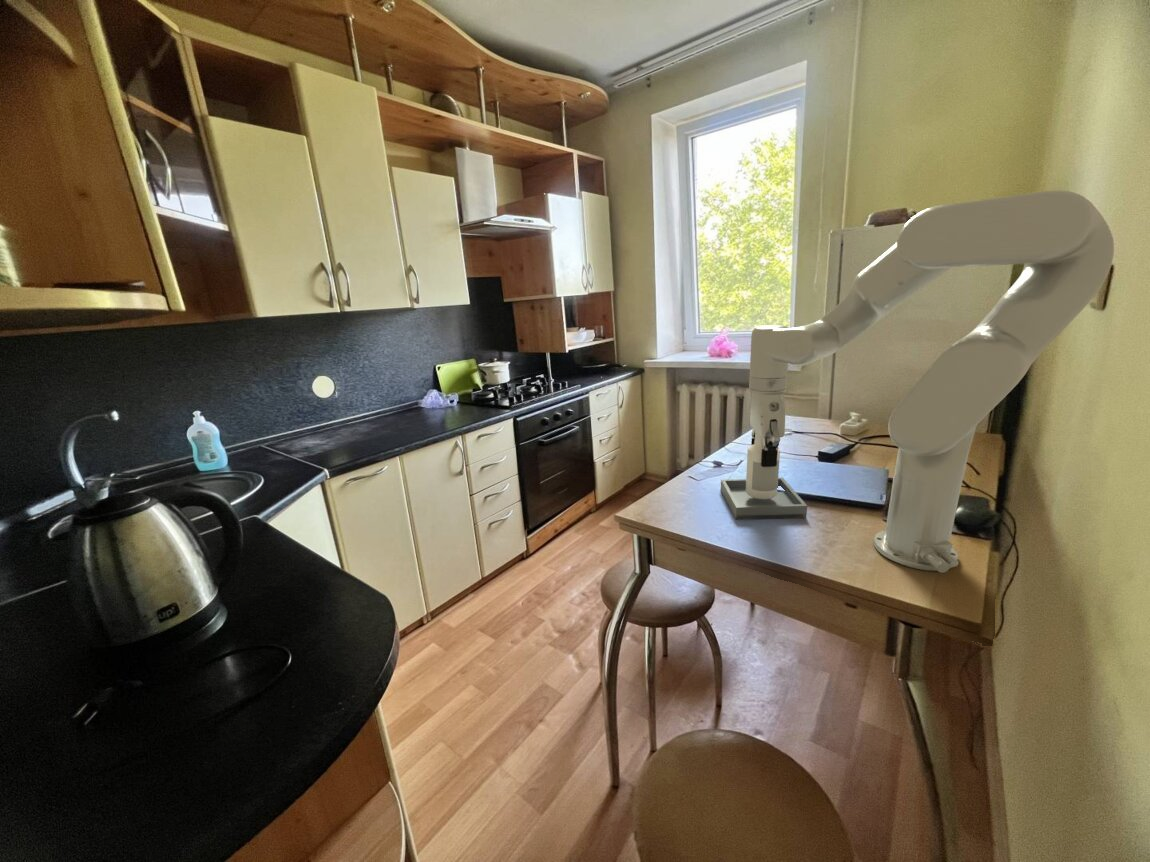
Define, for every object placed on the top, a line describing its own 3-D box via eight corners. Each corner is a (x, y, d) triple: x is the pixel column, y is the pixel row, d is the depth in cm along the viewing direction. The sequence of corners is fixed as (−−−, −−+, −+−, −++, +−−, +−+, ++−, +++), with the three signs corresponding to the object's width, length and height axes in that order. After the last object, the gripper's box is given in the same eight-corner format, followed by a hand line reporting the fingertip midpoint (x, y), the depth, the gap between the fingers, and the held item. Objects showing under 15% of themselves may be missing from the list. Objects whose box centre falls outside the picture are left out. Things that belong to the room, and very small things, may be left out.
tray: (806, 518, 98) (807, 505, 97) (735, 519, 100) (736, 507, 99) (781, 488, 113) (782, 477, 112) (720, 490, 114) (721, 479, 113)
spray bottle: (763, 502, 101) (768, 426, 96) (739, 492, 107) (742, 420, 101) (783, 494, 104) (788, 420, 99) (758, 484, 110) (762, 414, 104)
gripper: (801, 391, 89) (794, 474, 94) (772, 375, 105) (767, 446, 111) (762, 393, 90) (757, 475, 95) (739, 376, 106) (736, 447, 111)
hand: (763, 459), depth 103 cm, fingers closed on spray bottle, 6 cm apart
